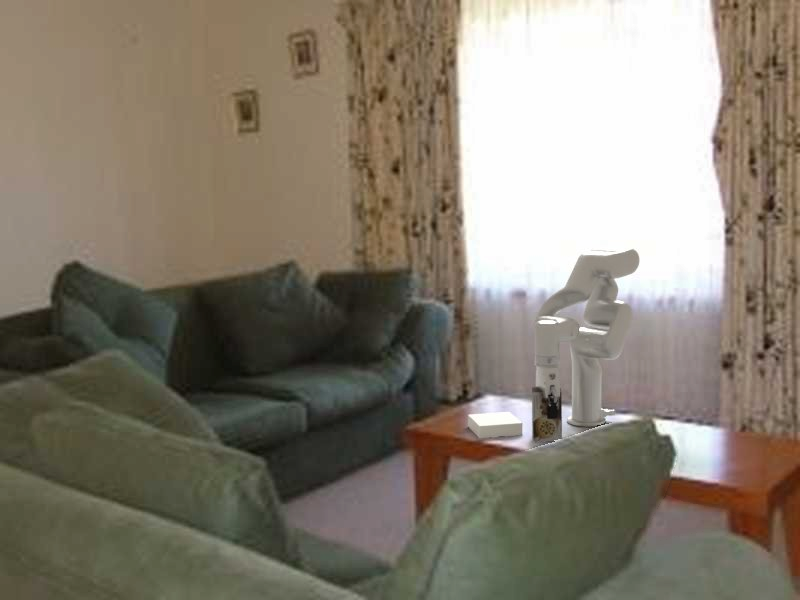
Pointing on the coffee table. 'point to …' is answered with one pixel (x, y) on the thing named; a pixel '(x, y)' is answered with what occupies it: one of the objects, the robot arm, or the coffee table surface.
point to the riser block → (494, 424)
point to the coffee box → (545, 418)
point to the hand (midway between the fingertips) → (546, 414)
